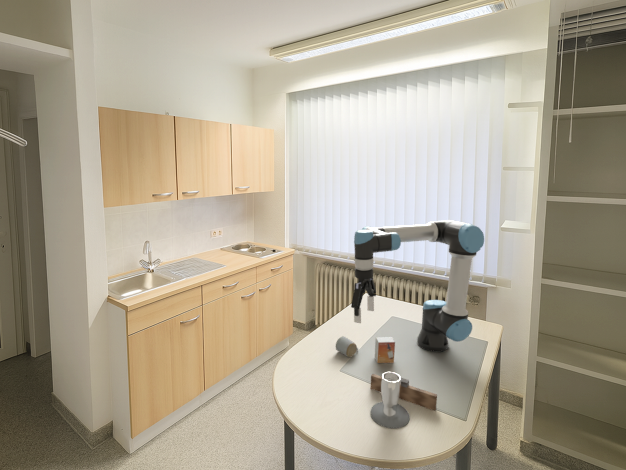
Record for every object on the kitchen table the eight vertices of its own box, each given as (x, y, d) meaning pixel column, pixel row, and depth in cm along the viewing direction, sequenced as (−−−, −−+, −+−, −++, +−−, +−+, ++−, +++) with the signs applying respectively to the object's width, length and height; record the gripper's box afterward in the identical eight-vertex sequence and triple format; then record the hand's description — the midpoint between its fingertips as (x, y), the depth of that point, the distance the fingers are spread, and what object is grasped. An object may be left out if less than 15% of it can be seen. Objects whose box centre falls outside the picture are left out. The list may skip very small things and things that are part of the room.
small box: (377, 363, 172) (378, 342, 170) (374, 357, 178) (375, 336, 176) (394, 363, 173) (395, 342, 171) (390, 356, 178) (392, 336, 176)
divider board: (370, 389, 153) (370, 371, 152) (372, 386, 155) (373, 368, 154) (434, 411, 140) (436, 392, 138) (436, 408, 142) (437, 389, 140)
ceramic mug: (347, 360, 175) (347, 344, 174) (334, 353, 181) (335, 338, 180) (362, 353, 182) (363, 338, 181) (350, 346, 188) (350, 332, 187)
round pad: (404, 403, 145) (404, 401, 144) (413, 428, 131) (413, 427, 131) (368, 402, 145) (368, 401, 145) (373, 427, 131) (373, 426, 131)
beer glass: (377, 408, 141) (379, 371, 138) (395, 407, 141) (397, 371, 138) (382, 420, 134) (384, 383, 131) (401, 419, 134) (403, 382, 131)
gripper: (367, 259, 166) (367, 304, 170) (341, 275, 145) (343, 326, 149) (383, 261, 162) (383, 307, 166) (359, 277, 141) (360, 329, 145)
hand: (364, 316), depth 158 cm, fingers open, 13 cm apart
